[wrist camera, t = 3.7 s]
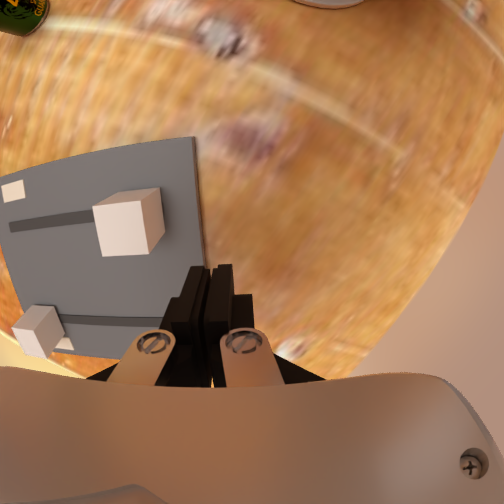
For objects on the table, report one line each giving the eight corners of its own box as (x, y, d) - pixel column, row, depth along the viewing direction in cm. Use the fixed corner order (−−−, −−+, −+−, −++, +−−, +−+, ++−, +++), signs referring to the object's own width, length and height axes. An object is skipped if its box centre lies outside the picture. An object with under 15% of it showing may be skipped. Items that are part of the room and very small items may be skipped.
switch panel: (194, 136, 24) (191, 136, 22) (218, 353, 33) (217, 363, 32) (-5, 179, 24) (-14, 182, 22) (45, 343, 33) (40, 350, 31)
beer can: (19, 45, 18) (-52, 33, 7) (16, 16, 16) (-47, 0, 4) (53, 18, 17) (-16, -9, 6) (49, -10, 15) (-12, -39, 4)
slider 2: (159, 187, 24) (140, 200, 19) (165, 231, 25) (149, 254, 20) (118, 192, 23) (92, 206, 19) (124, 234, 25) (102, 256, 20)
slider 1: (53, 306, 28) (33, 330, 23) (64, 333, 30) (47, 359, 25) (32, 305, 28) (11, 327, 23) (43, 331, 30) (25, 354, 25)
